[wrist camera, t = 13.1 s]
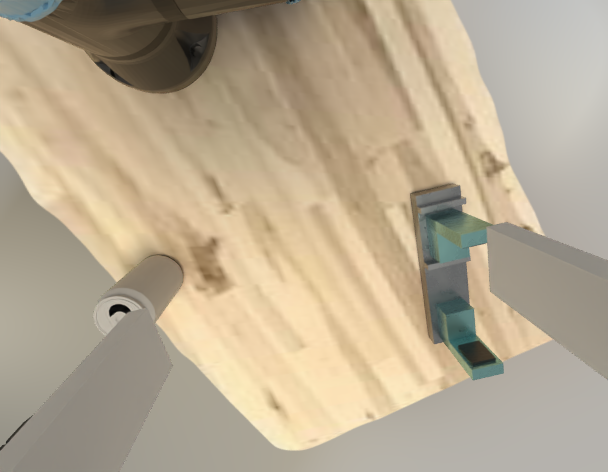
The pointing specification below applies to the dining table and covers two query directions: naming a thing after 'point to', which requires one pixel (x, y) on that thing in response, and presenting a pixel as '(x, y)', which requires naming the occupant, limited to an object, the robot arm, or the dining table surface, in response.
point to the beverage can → (139, 292)
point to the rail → (449, 289)
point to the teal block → (454, 234)
